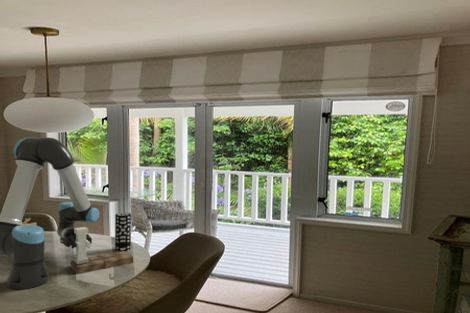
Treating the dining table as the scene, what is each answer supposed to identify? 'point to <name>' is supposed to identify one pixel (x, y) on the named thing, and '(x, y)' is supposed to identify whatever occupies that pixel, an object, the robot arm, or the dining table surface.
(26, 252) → the robot arm
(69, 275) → the dining table surface
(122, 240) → the spotted tube
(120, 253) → the fader console
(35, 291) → the dining table surface
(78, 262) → the fader knob
